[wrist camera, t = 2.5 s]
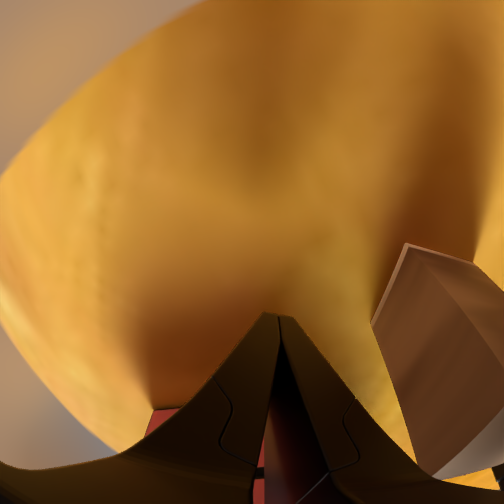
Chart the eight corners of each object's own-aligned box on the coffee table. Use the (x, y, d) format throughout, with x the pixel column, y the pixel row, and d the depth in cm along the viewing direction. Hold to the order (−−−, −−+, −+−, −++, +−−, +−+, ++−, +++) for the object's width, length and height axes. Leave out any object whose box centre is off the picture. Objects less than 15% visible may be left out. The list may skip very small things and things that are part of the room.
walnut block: (473, 262, 12) (578, 380, 4) (436, 333, 13) (503, 463, 6) (405, 242, 11) (517, 390, 4) (370, 323, 13) (422, 483, 6)
